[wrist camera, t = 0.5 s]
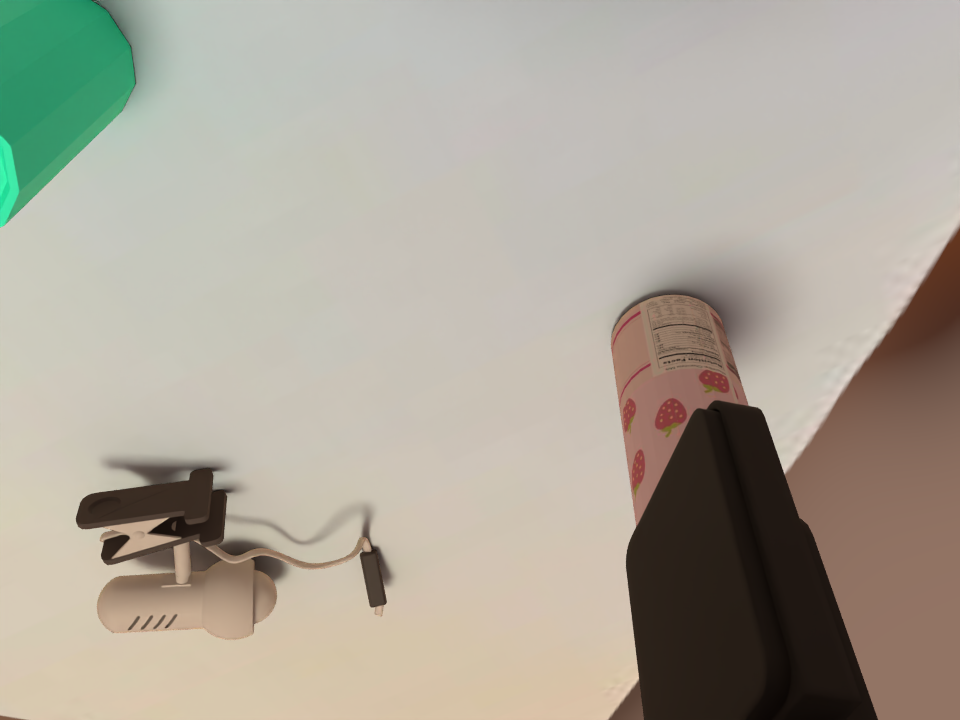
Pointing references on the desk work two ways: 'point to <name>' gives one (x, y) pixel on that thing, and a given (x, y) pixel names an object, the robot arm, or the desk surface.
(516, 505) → the desk surface
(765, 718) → the robot arm
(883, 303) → the desk surface
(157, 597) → the clip-on lamp
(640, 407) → the beverage can
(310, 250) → the desk surface
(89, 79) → the candle
